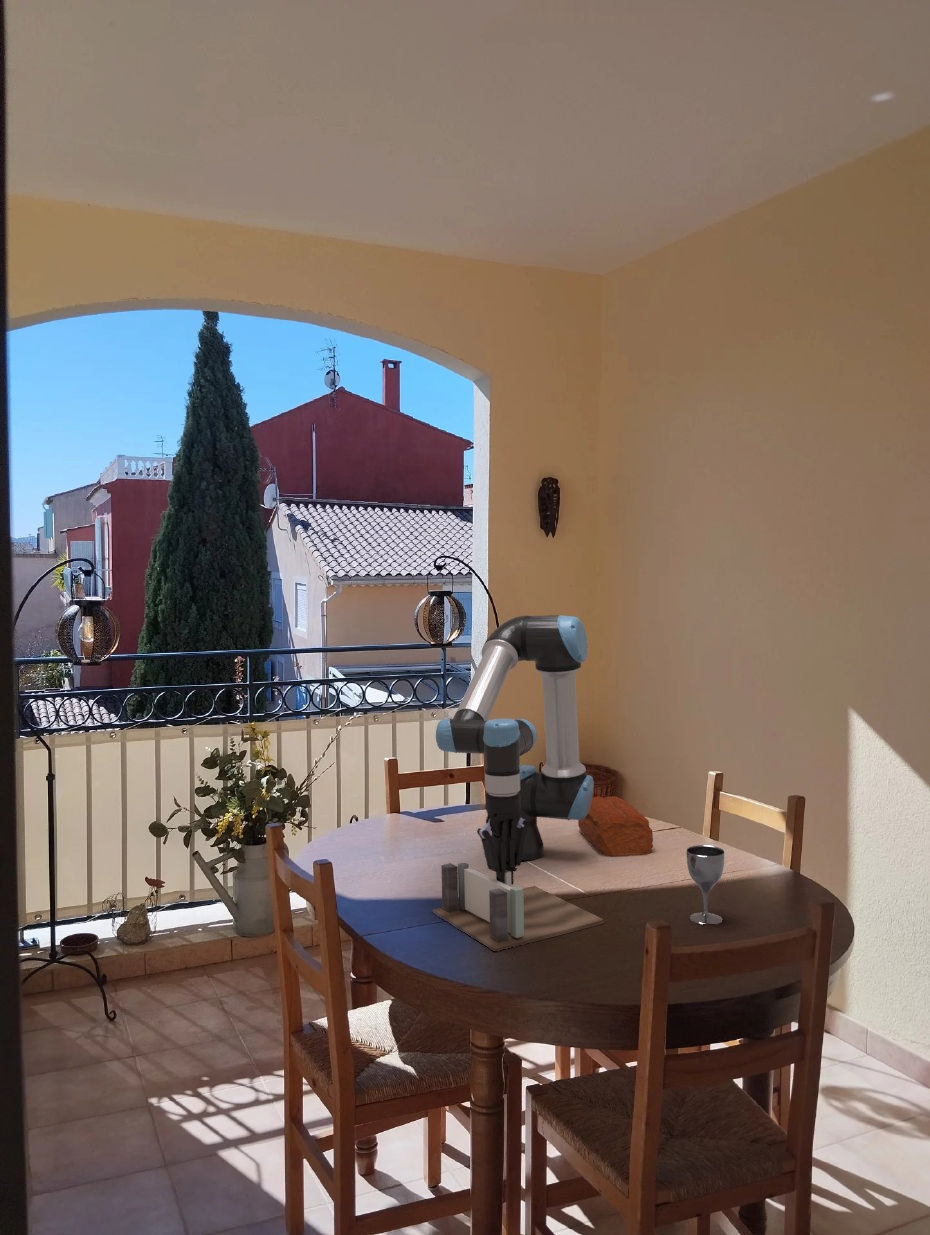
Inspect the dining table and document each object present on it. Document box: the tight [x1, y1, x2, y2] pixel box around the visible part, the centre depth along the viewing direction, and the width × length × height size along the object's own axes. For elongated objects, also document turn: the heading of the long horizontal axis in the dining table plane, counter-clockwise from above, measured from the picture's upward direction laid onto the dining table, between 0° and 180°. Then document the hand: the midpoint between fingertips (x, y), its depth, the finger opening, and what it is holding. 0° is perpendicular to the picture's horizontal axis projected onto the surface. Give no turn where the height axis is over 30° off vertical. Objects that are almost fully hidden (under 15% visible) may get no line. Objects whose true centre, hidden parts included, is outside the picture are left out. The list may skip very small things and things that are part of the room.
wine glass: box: [686, 844, 725, 925], centre depth 206 cm, size 8×8×15 cm
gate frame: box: [431, 862, 605, 952], centre depth 209 cm, size 26×28×11 cm
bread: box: [577, 795, 654, 858], centre depth 265 cm, size 16×27×11 cm, turn 7°
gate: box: [457, 862, 524, 938], centre depth 204 cm, size 22×2×10 cm, turn 33°
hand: (505, 900), depth 204 cm, fingers closed
